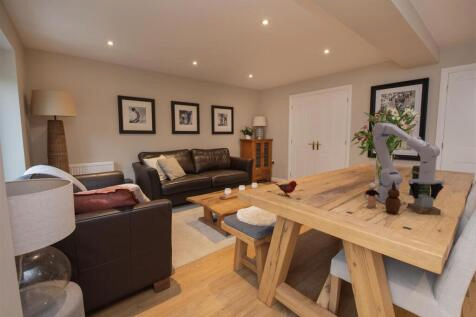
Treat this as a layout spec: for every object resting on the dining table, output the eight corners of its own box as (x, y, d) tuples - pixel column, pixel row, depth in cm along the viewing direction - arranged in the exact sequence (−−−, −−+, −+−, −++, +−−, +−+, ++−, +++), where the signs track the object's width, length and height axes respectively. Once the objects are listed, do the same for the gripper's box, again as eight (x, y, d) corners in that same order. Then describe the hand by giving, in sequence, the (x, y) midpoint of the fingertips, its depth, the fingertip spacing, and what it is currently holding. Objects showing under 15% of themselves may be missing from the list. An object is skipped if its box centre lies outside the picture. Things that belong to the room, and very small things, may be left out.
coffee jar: (415, 197, 130) (418, 166, 128) (406, 193, 138) (409, 164, 136) (433, 197, 129) (436, 166, 127) (422, 193, 137) (425, 164, 135)
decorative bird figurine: (295, 198, 125) (296, 181, 124) (271, 192, 139) (272, 177, 137) (298, 197, 127) (299, 181, 126) (274, 191, 140) (275, 176, 139)
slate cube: (421, 207, 104) (422, 197, 103) (413, 204, 109) (414, 194, 108) (432, 208, 104) (433, 197, 103) (424, 204, 108) (425, 194, 108)
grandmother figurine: (375, 206, 114) (377, 182, 112) (380, 208, 110) (382, 183, 108) (360, 206, 113) (362, 182, 112) (365, 208, 110) (367, 183, 108)
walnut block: (418, 215, 103) (419, 208, 102) (407, 208, 112) (407, 202, 111) (440, 216, 101) (440, 209, 101) (426, 209, 110) (427, 203, 110)
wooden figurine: (385, 209, 109) (388, 179, 107) (399, 211, 105) (402, 181, 104) (383, 212, 104) (386, 181, 102) (398, 215, 100) (401, 183, 99)
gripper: (416, 172, 101) (413, 200, 103) (451, 172, 99) (447, 201, 101) (406, 169, 108) (403, 196, 110) (439, 170, 106) (436, 197, 108)
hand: (424, 198), depth 106 cm, fingers open, 7 cm apart
